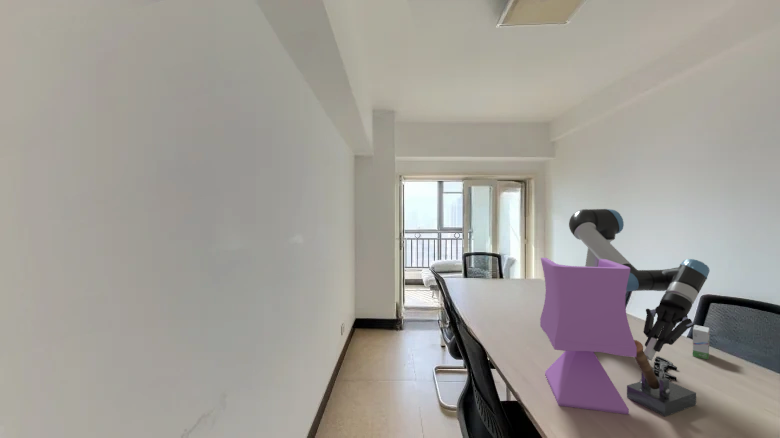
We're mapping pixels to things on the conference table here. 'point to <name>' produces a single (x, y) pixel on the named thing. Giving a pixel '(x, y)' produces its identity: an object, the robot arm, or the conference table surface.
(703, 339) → the ink box
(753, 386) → the conference table surface
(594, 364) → the purple pedestal vase
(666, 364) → the nameplate
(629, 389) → the press base
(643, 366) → the lever
